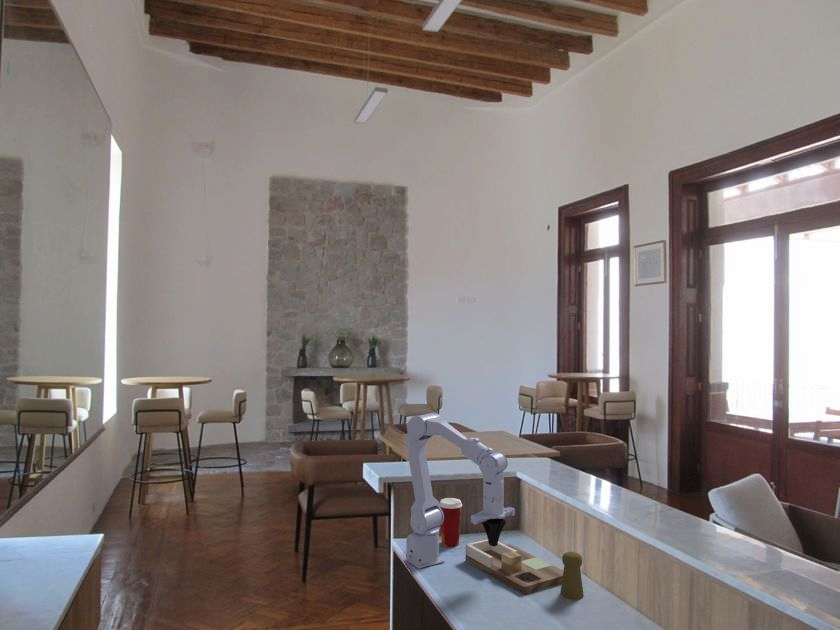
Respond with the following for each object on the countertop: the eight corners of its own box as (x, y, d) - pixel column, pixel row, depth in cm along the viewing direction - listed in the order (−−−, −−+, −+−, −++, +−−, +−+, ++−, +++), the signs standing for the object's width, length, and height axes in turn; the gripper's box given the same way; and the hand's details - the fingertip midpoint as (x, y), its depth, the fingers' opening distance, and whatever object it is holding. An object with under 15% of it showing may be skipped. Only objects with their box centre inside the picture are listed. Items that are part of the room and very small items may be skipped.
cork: (570, 601, 161) (571, 559, 161) (555, 592, 166) (555, 551, 166) (588, 597, 164) (588, 555, 164) (573, 588, 169) (573, 547, 169)
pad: (535, 576, 176) (535, 569, 176) (519, 568, 182) (519, 561, 182) (552, 572, 180) (552, 565, 180) (536, 563, 186) (536, 557, 186)
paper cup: (467, 543, 201) (467, 500, 201) (451, 550, 196) (452, 505, 196) (448, 537, 207) (448, 495, 207) (433, 543, 201) (433, 500, 201)
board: (524, 594, 165) (524, 587, 165) (465, 560, 187) (465, 554, 187) (570, 580, 174) (570, 573, 174) (509, 550, 196) (509, 543, 196)
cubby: (490, 568, 177) (490, 557, 177) (465, 554, 187) (465, 544, 187) (517, 561, 182) (517, 550, 182) (491, 548, 193) (491, 538, 193)
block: (510, 572, 174) (510, 558, 174) (501, 567, 178) (501, 553, 178) (521, 569, 176) (521, 555, 176) (512, 564, 180) (512, 550, 180)
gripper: (482, 504, 166) (482, 555, 166) (522, 495, 174) (522, 544, 174) (466, 497, 172) (465, 546, 172) (505, 489, 180) (505, 536, 180)
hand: (493, 545), depth 173 cm, fingers closed
